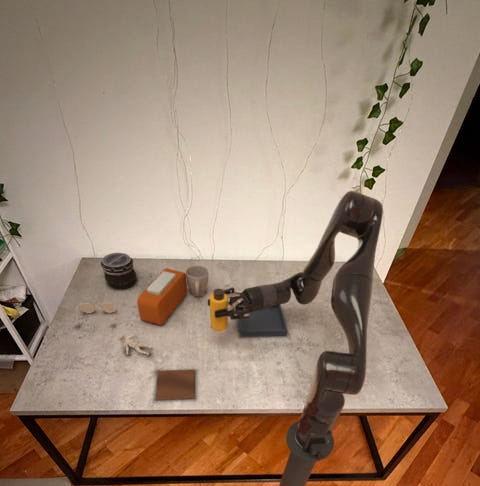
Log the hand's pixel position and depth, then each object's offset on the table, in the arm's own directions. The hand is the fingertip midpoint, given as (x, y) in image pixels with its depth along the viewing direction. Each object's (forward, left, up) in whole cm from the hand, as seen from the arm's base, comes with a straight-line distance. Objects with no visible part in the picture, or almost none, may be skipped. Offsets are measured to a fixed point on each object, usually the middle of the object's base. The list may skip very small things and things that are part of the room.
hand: (211, 308), depth 106 cm
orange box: (+26, +18, -18) cm, 36 cm away
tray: (+16, -19, -18) cm, 31 cm away
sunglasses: (+19, +43, -18) cm, 50 cm away
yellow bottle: (+1, -2, -7) cm, 8 cm away
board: (-16, +13, -18) cm, 27 cm away
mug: (+34, +5, -18) cm, 38 cm away
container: (+44, +37, -18) cm, 60 cm away
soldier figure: (+2, +27, -18) cm, 32 cm away
